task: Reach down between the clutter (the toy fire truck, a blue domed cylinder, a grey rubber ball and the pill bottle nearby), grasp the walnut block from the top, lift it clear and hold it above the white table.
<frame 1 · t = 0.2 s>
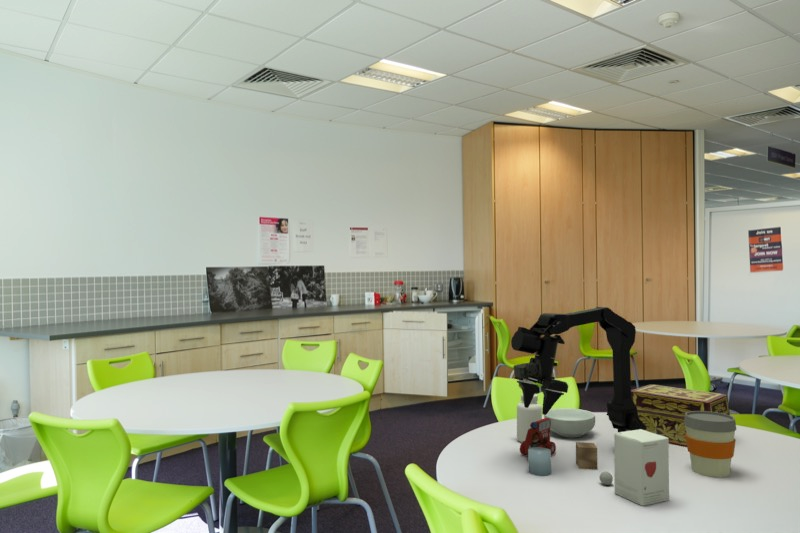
hand: (534, 411, 160), 15 cm above the table, tool pointing down, fingers open, 9 cm apart
reusable coffee cup: (710, 472, 153), on the table
decorative box: (677, 438, 186), on the table
blue domed cylinder: (539, 472, 154), on the table
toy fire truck: (537, 455, 169), on the table
grey ball: (606, 478, 144), point 2 cm above the table
cereal bowl: (569, 434, 190), on the table
supplement box: (641, 497, 136), on the table
pill bottle: (529, 441, 183), on the table
walnut block: (586, 466, 158), on the table
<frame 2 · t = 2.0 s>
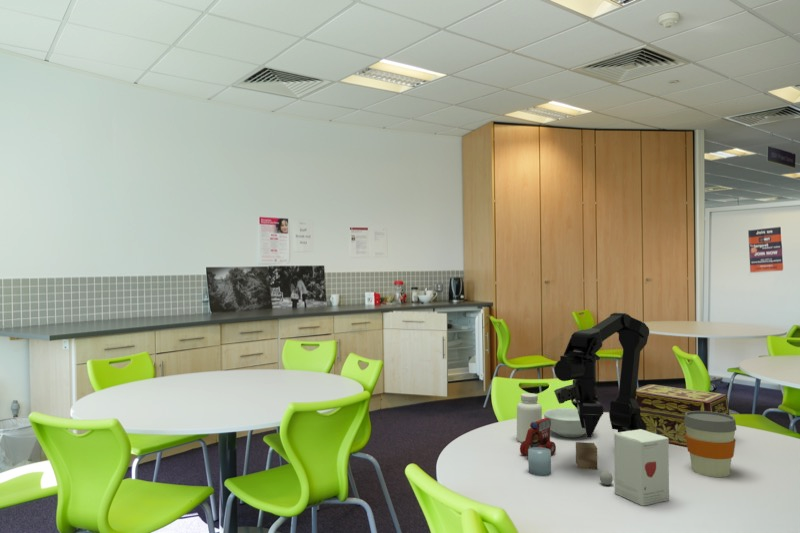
hand: (586, 432, 159), 9 cm above the table, tool pointing down, fingers open, 9 cm apart
nothing on the table moved.
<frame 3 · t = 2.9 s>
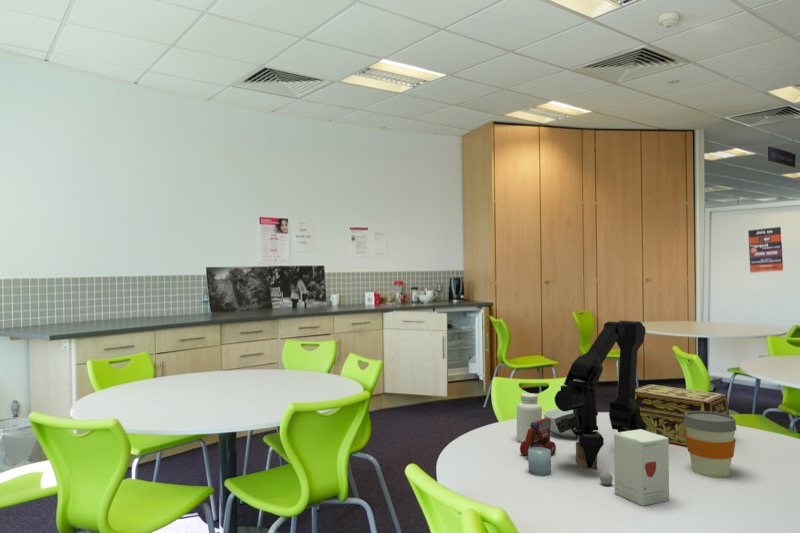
hand: (586, 461, 158), 1 cm above the table, tool pointing down, fingers open, 9 cm apart
nothing on the table moved.
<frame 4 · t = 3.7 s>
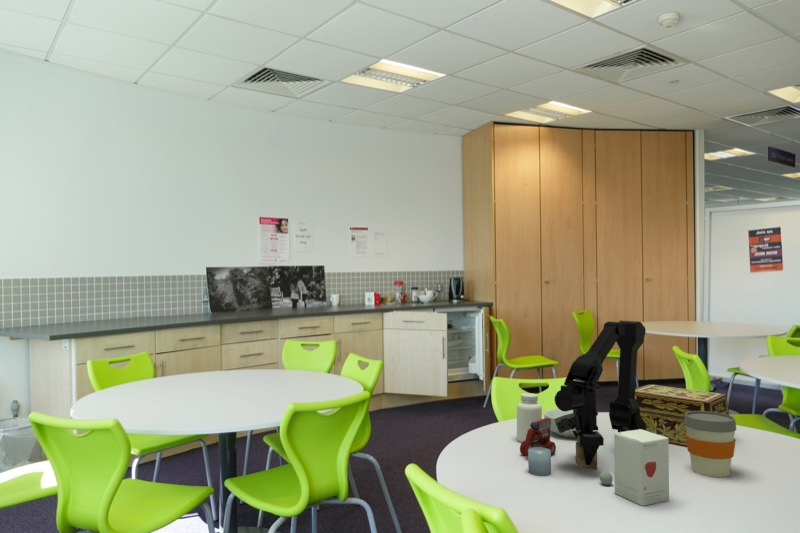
hand: (586, 461, 158), 1 cm above the table, tool pointing down, fingers closed on walnut block, 5 cm apart
walnut block: (586, 466, 158), on the table, touching gripper
everything else where it was.
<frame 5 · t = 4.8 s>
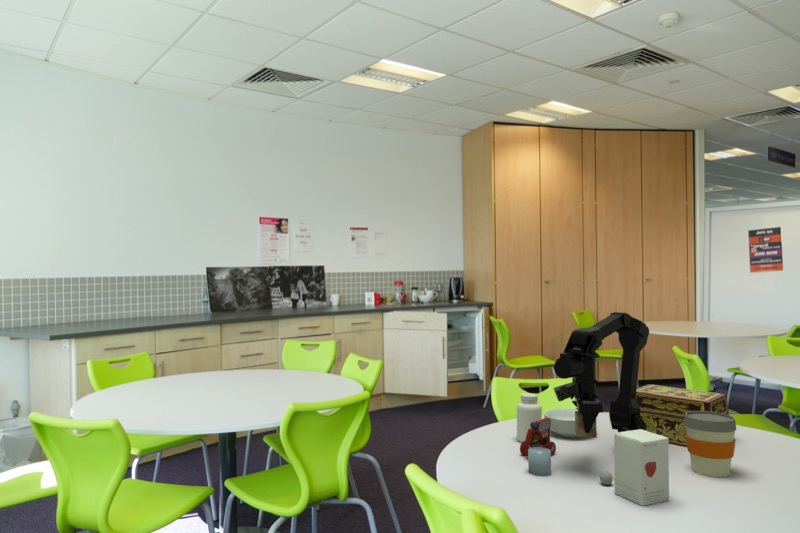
hand: (585, 430, 158), 10 cm above the table, tool pointing down, fingers closed on walnut block, 5 cm apart
walnut block: (585, 434, 158), point 9 cm above the table, touching gripper
everything else where it was.
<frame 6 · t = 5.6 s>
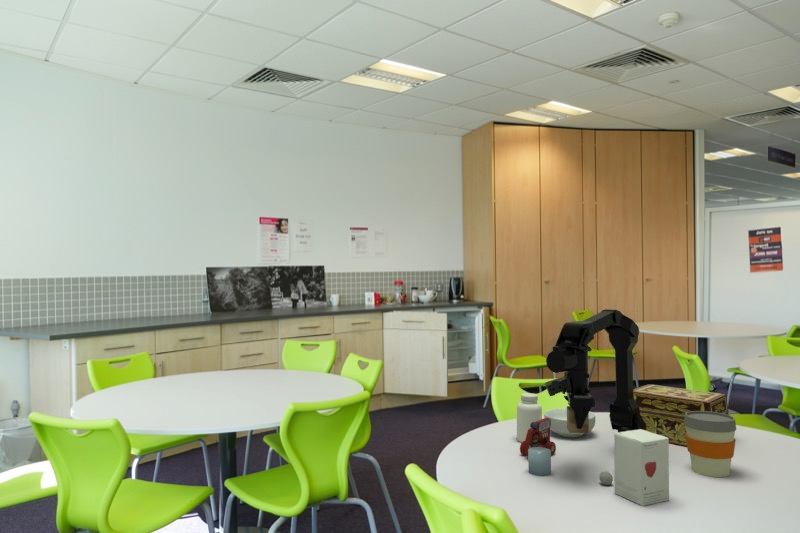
hand: (577, 426, 154), 13 cm above the table, tool pointing down, fingers closed on walnut block, 5 cm apart
walnut block: (577, 430, 154), point 11 cm above the table, touching gripper
everything else where it was.
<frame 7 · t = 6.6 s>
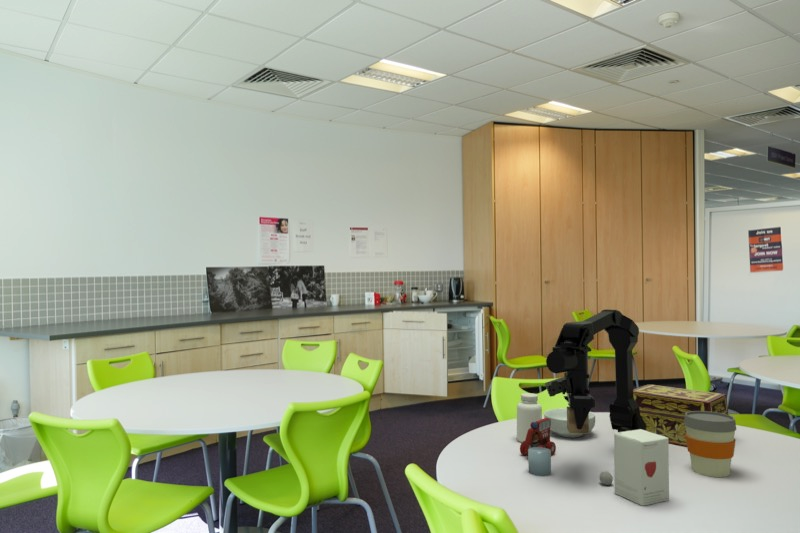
hand: (577, 426, 153), 12 cm above the table, tool pointing down, fingers closed on walnut block, 5 cm apart
walnut block: (577, 431, 153), point 11 cm above the table, touching gripper
everything else where it was.
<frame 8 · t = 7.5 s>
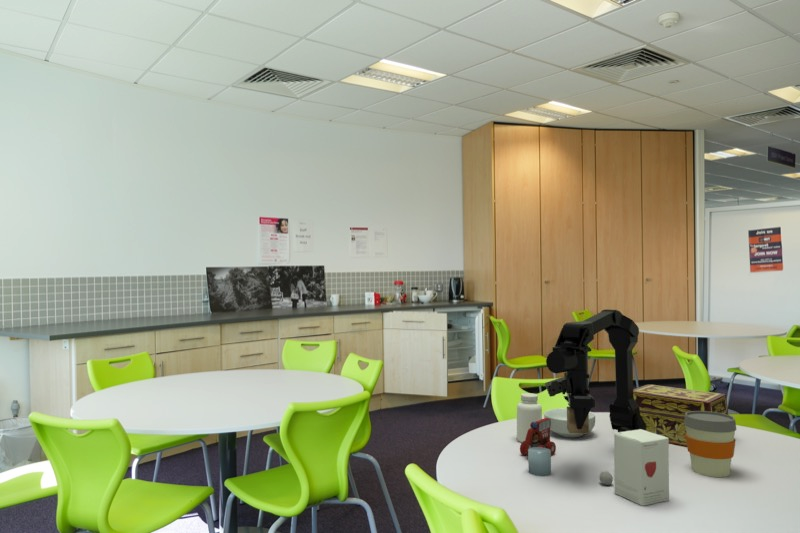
hand: (577, 426, 153), 12 cm above the table, tool pointing down, fingers closed on walnut block, 5 cm apart
walnut block: (577, 431, 153), point 11 cm above the table, touching gripper
everything else where it was.
at the end: the gripper is holding walnut block; walnut block point 11.2 cm above the table; walnut block touching gripper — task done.
